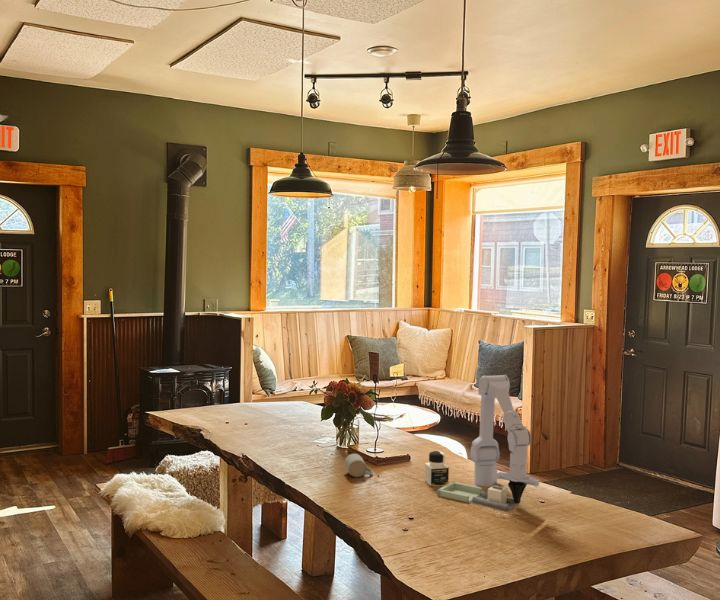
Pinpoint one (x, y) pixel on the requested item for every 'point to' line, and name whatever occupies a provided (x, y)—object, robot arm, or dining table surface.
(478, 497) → the dock
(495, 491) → the beige cardboard box
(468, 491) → the tray
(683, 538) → the dining table surface
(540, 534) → the dining table surface
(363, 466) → the ceramic mug
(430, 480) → the medicine bottle
